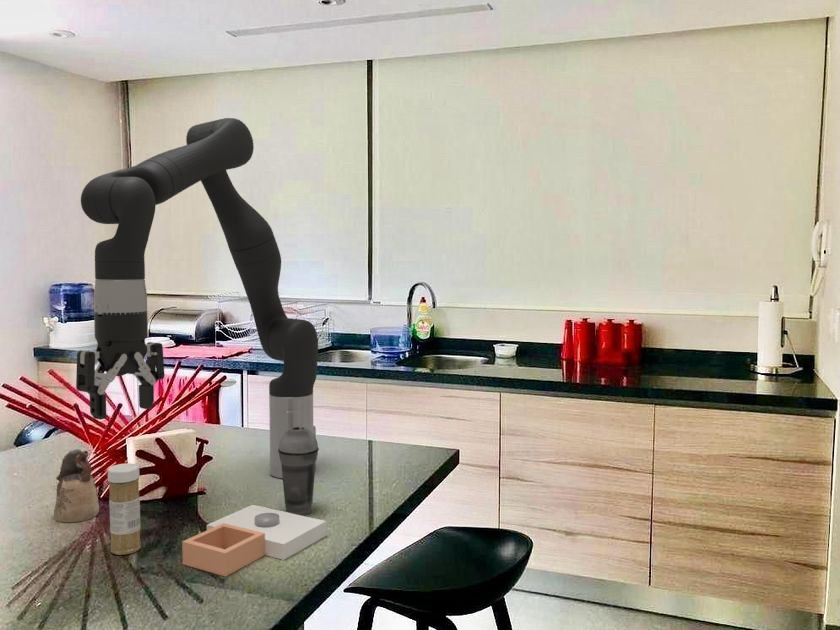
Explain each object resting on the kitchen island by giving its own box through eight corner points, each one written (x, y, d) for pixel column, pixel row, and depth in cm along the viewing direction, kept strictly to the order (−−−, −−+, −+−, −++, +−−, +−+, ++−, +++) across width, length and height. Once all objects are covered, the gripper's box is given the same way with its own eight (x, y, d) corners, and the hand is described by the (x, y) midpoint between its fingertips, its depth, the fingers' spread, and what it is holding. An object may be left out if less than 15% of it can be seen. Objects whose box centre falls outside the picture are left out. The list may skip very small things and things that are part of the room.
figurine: (81, 506, 131) (79, 442, 131) (108, 512, 128) (106, 447, 127) (45, 518, 125) (43, 451, 124) (73, 525, 122) (71, 457, 121)
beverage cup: (303, 502, 135) (303, 397, 133) (327, 512, 129) (326, 403, 128) (270, 511, 130) (269, 403, 128) (293, 522, 124) (292, 409, 123)
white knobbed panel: (252, 518, 126) (252, 499, 126) (326, 535, 118) (326, 515, 118) (165, 559, 109) (164, 536, 109) (244, 582, 101) (244, 558, 101)
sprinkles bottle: (133, 542, 115) (131, 460, 114) (146, 550, 112) (144, 466, 111) (104, 550, 112) (102, 466, 111) (117, 558, 109) (115, 472, 108)
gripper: (141, 305, 117) (143, 403, 118) (62, 310, 104) (65, 419, 106) (174, 307, 113) (176, 407, 115) (96, 312, 101) (99, 425, 102)
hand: (123, 413), depth 110 cm, fingers open, 8 cm apart
